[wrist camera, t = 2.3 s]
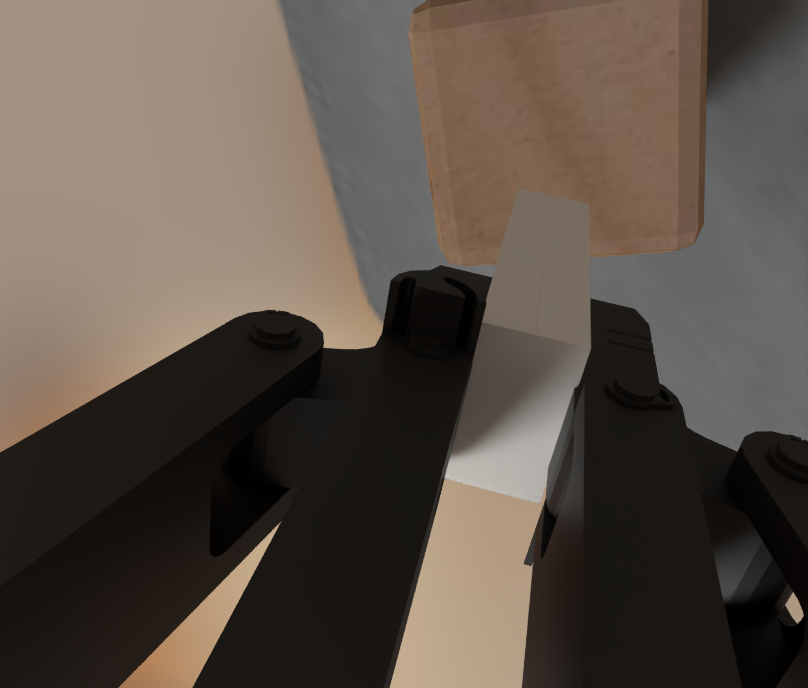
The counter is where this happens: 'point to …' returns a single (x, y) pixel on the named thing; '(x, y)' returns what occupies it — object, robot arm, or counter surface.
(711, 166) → the counter surface
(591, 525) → the robot arm
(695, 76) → the wooden block
